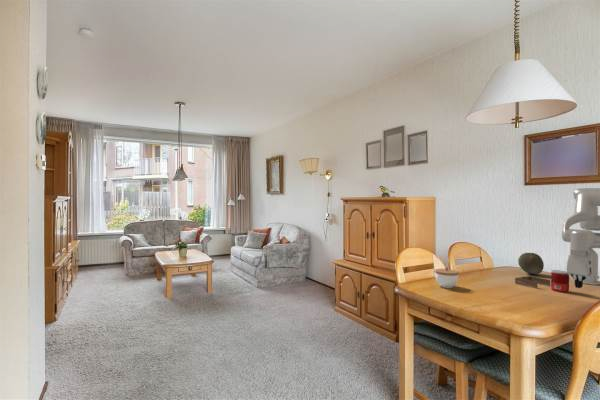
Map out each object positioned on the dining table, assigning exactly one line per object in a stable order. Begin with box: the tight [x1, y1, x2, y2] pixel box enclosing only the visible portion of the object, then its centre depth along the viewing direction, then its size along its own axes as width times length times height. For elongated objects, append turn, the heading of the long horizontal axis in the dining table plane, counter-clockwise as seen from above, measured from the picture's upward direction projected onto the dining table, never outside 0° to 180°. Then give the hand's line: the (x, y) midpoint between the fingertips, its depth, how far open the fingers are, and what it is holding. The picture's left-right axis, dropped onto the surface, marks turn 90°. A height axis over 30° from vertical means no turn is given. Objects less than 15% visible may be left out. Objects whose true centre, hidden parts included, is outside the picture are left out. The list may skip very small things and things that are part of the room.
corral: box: [514, 275, 551, 289], centre depth 200 cm, size 14×12×4 cm
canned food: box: [550, 269, 570, 294], centre depth 187 cm, size 8×8×11 cm
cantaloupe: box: [517, 252, 545, 276], centre depth 228 cm, size 14×14×15 cm
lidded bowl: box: [434, 266, 459, 289], centre depth 193 cm, size 13×13×11 cm
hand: (578, 287), depth 179 cm, fingers closed
